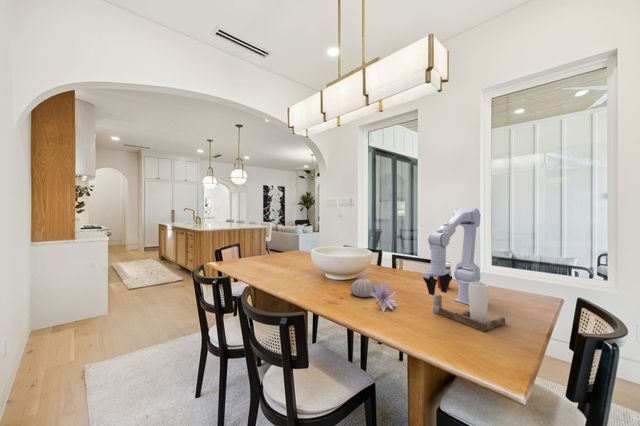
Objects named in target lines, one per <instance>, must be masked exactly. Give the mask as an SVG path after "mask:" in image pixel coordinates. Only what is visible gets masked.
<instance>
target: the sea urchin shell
mask: <svg viewBox="0 0 640 426" xmlns="http://www.w3.org/2000/svg"><path fill="white" fill-rule="evenodd" d="M374 283H375V282H373V281H372V280H370V279H367V278H359V279H356V280H355V281H354V282H352V284H351V285H350V289H349V291H350V293H351V294H353V295H354V296H356V297H358V298H359V297H360V298H370V297H373V296H372V295H371V294H370V292H376V290H375V287H374ZM376 293H377V292H376Z"/></svg>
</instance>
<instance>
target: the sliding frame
mask: <svg viewBox="0 0 640 426" xmlns="http://www.w3.org/2000/svg"><path fill="white" fill-rule="evenodd" d="M442 302H443V295H441V294H436V293H435V294H434V295H433V309H432V311H433V313H434V314H437V315H441V316H444V317H447V318H449V319H452V320H454V321H456V322H458V323H459V322H460V323H462V324H464V325H466V326H469V327H472V328H474V329H477V330H480V331H481V332H484V333H485V332H487V331H488V330H491V329H493V328H497V327H500V326H502V325H506V318H505V317H502V316H501V317H499V318H495V319H493V320H490V321H486V323H483V322H480V321H477V320H475V319H472V318H470V309H469V310H465V311H462V312H459V313H458V312H452V311H450V310H447V309H445V308H442V307H443V303H442Z"/></svg>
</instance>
